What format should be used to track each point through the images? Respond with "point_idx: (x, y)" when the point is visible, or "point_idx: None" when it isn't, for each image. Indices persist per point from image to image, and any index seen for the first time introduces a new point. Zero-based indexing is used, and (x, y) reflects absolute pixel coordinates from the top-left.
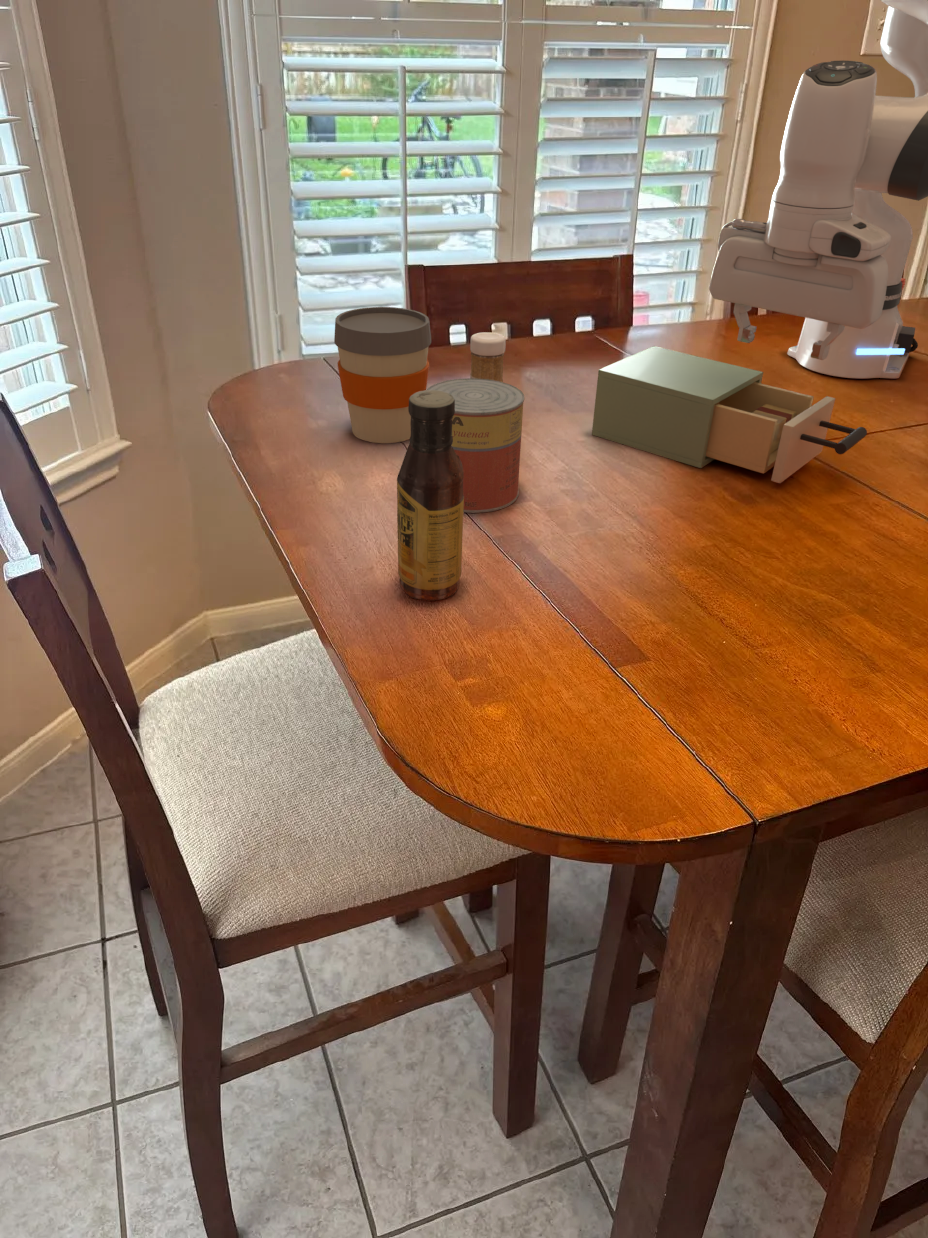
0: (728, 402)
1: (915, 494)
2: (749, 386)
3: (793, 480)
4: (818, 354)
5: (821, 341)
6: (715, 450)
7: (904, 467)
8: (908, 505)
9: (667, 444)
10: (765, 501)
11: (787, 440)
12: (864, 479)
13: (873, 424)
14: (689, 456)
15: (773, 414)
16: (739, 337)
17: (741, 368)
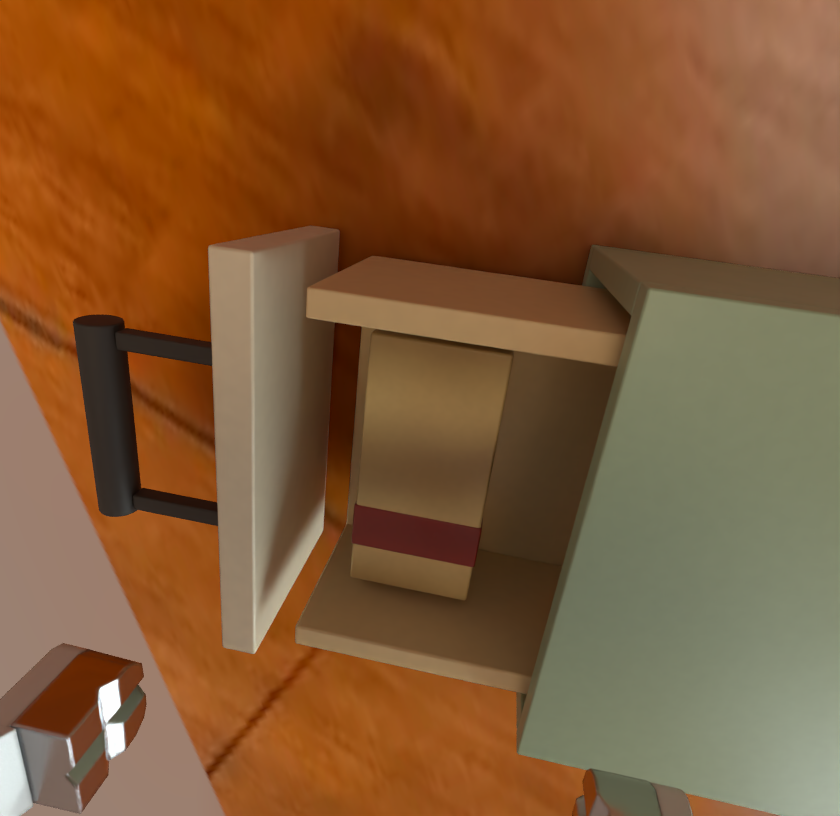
0: None
1: (49, 415)
2: None
3: None
4: (68, 666)
5: (56, 795)
6: (561, 288)
7: (134, 555)
8: (29, 339)
9: (760, 272)
10: (320, 107)
11: (250, 240)
12: (170, 440)
13: (281, 749)
14: (649, 254)
15: (408, 513)
16: (676, 806)
17: (614, 759)
